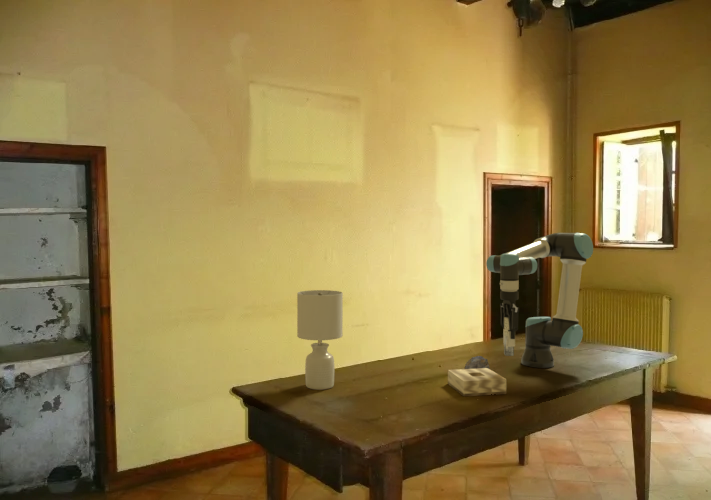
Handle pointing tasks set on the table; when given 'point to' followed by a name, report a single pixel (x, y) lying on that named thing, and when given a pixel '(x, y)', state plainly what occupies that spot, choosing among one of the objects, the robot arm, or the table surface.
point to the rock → (477, 363)
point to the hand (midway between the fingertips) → (509, 344)
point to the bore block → (476, 382)
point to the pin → (507, 350)
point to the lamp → (319, 333)
